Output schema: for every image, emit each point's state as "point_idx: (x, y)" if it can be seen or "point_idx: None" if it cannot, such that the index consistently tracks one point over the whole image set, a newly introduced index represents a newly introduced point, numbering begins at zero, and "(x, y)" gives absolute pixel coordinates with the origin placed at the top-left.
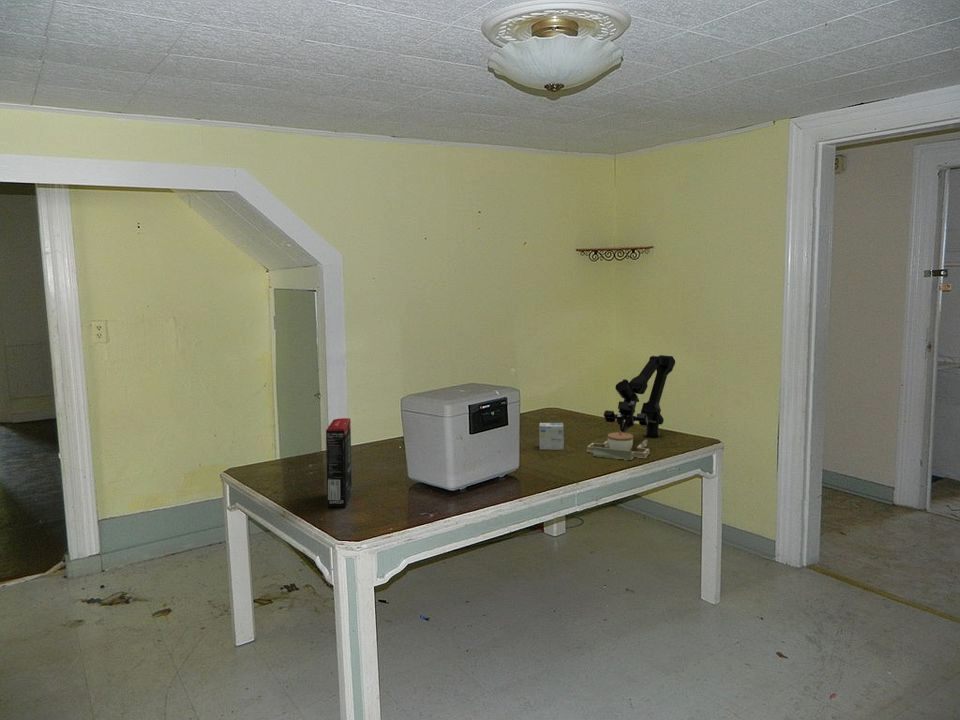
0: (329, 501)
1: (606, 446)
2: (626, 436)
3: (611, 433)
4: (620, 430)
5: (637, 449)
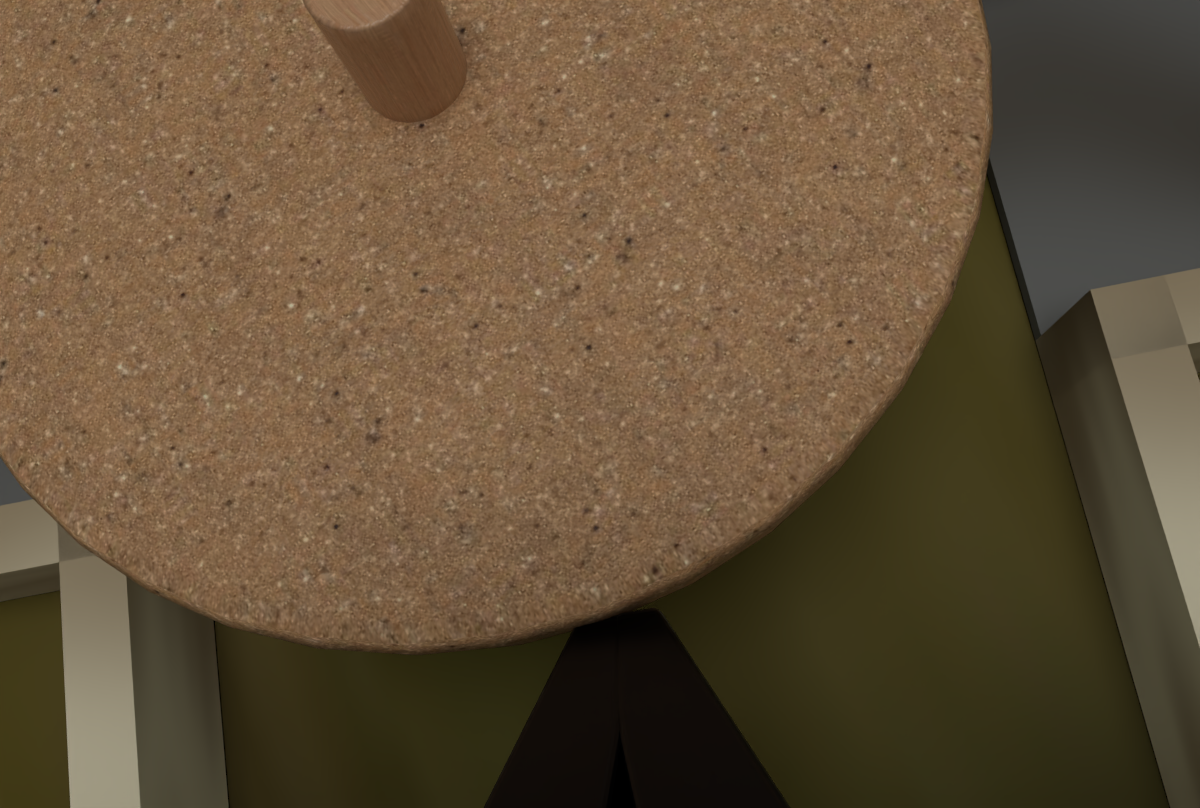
0: None
1: (1120, 568)
2: (105, 4)
3: (877, 65)
4: (704, 683)
5: None
